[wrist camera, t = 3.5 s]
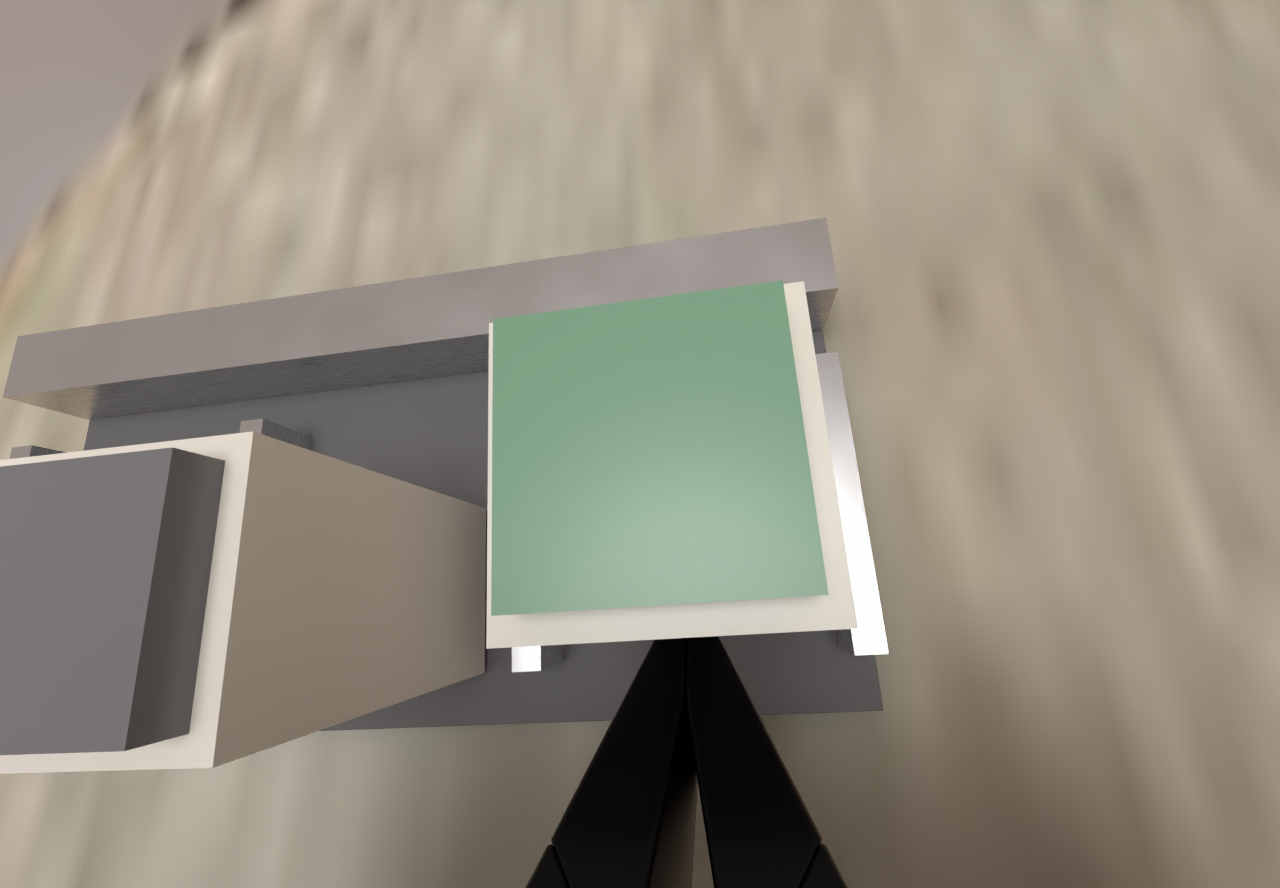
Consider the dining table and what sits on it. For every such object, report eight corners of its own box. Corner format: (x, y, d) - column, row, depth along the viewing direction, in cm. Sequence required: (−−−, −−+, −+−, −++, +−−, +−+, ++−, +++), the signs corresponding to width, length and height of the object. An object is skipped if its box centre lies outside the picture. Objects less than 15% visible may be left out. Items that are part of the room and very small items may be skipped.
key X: (485, 672, 15) (149, 790, 6) (333, 680, 15) (-166, 795, 7) (485, 508, 16) (203, 415, 7) (344, 520, 17) (-71, 447, 8)
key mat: (875, 703, 14) (883, 710, 13) (56, 734, 17) (25, 741, 17) (808, 283, 17) (812, 269, 17) (124, 374, 20) (100, 365, 20)
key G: (785, 605, 14) (876, 634, 6) (614, 616, 15) (456, 656, 6) (764, 438, 15) (812, 246, 7) (607, 454, 16) (463, 294, 7)
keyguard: (873, 644, 14) (901, 655, 12) (36, 686, 17) (-73, 702, 15) (812, 269, 17) (825, 217, 14) (100, 365, 20) (17, 336, 17)
